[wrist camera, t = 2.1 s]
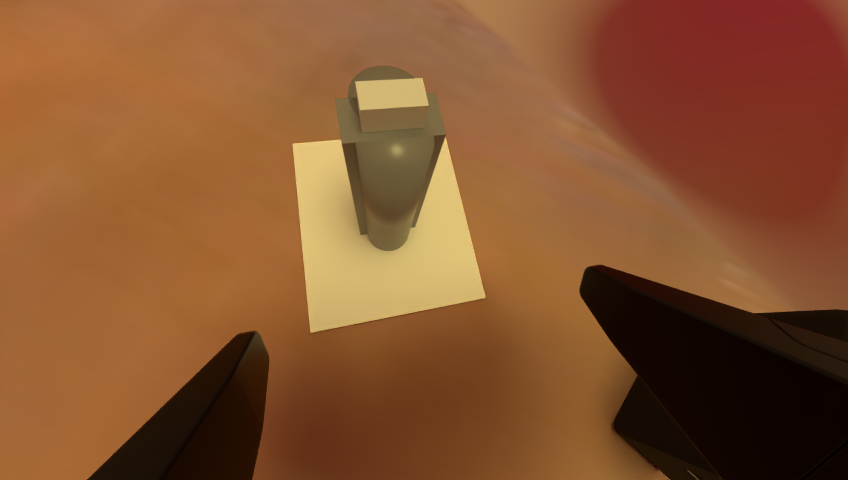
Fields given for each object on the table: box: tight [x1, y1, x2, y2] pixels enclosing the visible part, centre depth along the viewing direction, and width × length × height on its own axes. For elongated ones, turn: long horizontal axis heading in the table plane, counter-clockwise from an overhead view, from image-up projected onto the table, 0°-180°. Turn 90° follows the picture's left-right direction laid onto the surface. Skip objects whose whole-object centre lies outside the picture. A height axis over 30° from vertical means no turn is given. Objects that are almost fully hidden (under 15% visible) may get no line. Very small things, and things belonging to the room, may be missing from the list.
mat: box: [293, 137, 486, 333], centre depth 22 cm, size 14×12×1 cm
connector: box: [335, 66, 446, 251], centre depth 16 cm, size 5×4×12 cm
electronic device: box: [614, 309, 848, 480], centre depth 17 cm, size 4×10×10 cm, turn 138°
